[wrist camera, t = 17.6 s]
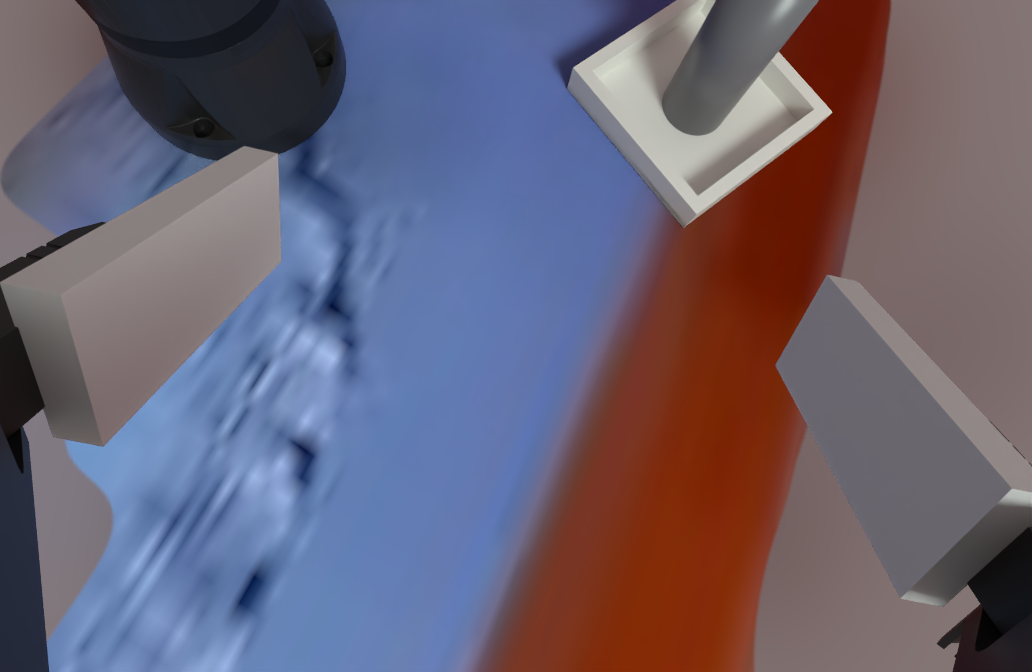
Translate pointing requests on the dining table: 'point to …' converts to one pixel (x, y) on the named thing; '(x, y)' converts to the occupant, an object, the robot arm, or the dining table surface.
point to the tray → (669, 152)
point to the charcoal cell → (728, 59)
